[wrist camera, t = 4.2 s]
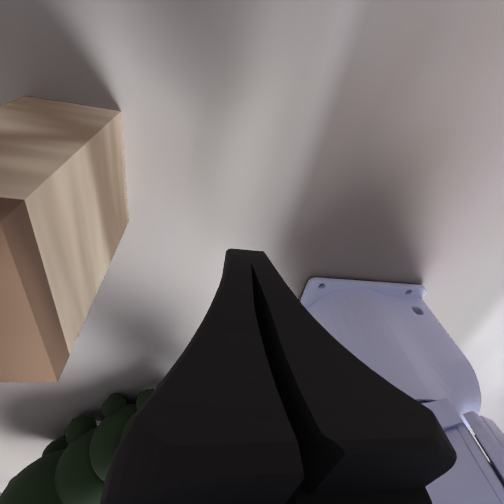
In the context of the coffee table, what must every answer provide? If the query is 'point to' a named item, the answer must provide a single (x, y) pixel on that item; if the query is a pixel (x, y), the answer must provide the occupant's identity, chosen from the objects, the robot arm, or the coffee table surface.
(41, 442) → the coffee table surface
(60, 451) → the toy figurine
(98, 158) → the beech block
